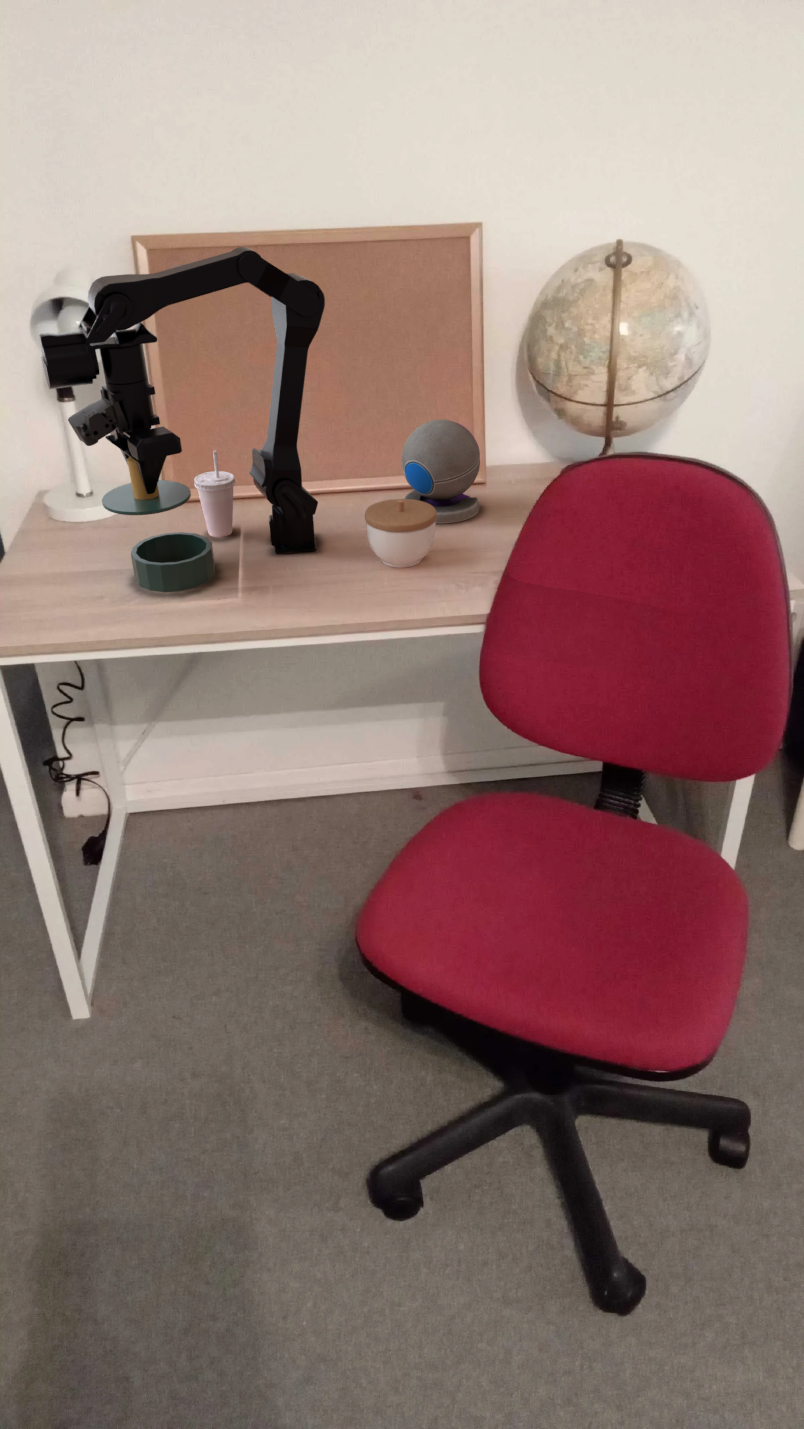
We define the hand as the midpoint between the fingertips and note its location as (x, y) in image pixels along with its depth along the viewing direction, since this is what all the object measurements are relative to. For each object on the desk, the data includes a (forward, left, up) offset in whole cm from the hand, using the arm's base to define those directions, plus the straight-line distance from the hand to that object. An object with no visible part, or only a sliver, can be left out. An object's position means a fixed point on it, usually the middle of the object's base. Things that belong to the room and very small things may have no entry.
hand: (145, 489), depth 143 cm
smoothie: (-9, -12, -13) cm, 20 cm away
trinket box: (-37, +2, -13) cm, 39 cm away
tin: (-3, +3, -13) cm, 13 cm away
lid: (0, 0, -1) cm, 1 cm away
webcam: (-46, -17, -13) cm, 51 cm away
